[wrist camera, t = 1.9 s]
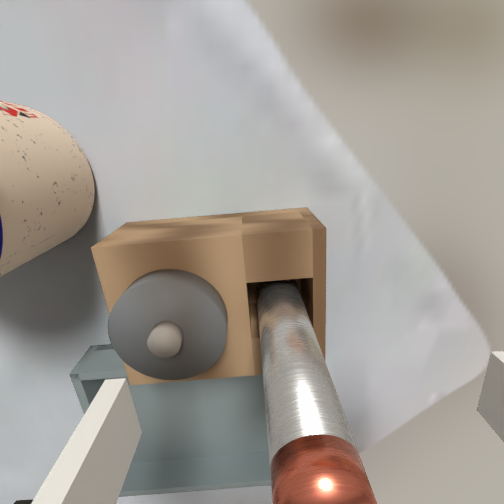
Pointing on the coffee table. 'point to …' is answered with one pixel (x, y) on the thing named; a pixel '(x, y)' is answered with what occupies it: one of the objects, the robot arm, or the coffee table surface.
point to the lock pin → (303, 408)
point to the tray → (187, 428)
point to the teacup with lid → (39, 185)
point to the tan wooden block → (205, 289)
